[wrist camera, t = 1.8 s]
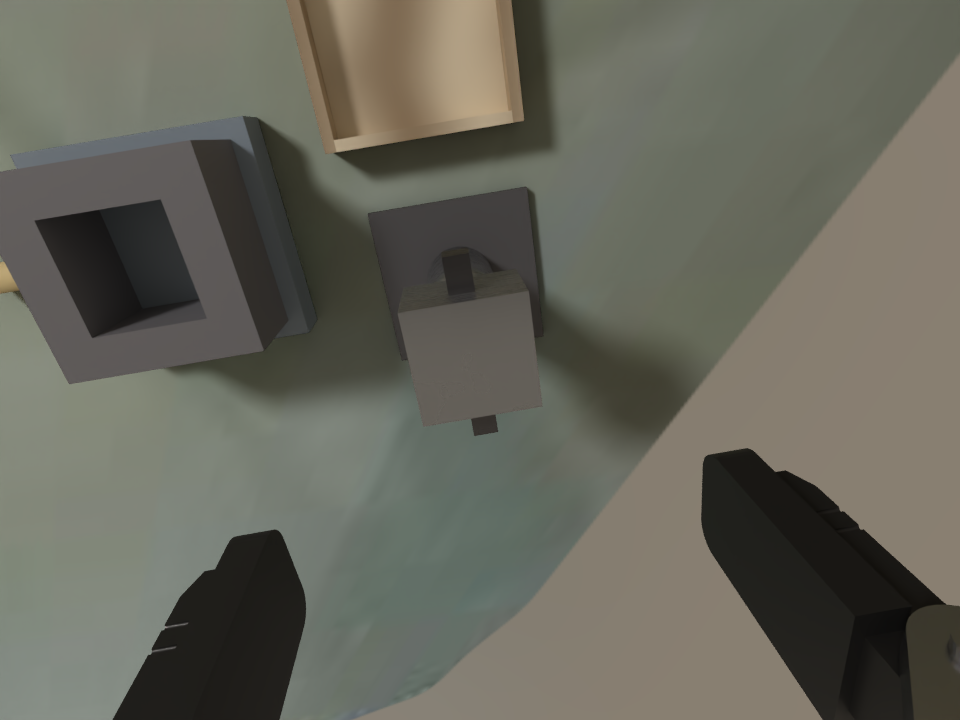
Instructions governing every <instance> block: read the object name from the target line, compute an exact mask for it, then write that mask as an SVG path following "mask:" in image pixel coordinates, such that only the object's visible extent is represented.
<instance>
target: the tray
mask: <svg viewBox="0 0 960 720" xmlns="http://www.w3.org/2000/svg"><path fill="white" fill-rule="evenodd" d="M286 1H287V5H288V9H289V13H290V17H291V21H292V24H293V28H294V32H295V36H296V40H297V44H298V48H299V52H300V56H301V60H302V64H303V68H304V71H305V75H306V79H307V83H308V87H309V91H310V95H311V99H312V103H313V107H314V111H315V115H316V119H317V122H318V126H319V130H320V134H321V138H322V142H323V146H324V150H325V154H329V153H335V152H341V151H347V150H353V149H359V148H365V147H371V146H377V145H383V144H389V143H395V142H401V141H407V140H413V139H419V138H425V137H431V136H437V135H443V134H449V133H455V132H461V131H467V130H473V129H479V128H484V127H490V126H496V125H502V124H508V123H514V122H520V121H524V114H523V105H522V95H521V86H520V77H519V67H518V58H517V49H516V40H515V30H514V21H513V12H512V2H511V0H286Z"/></svg>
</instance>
